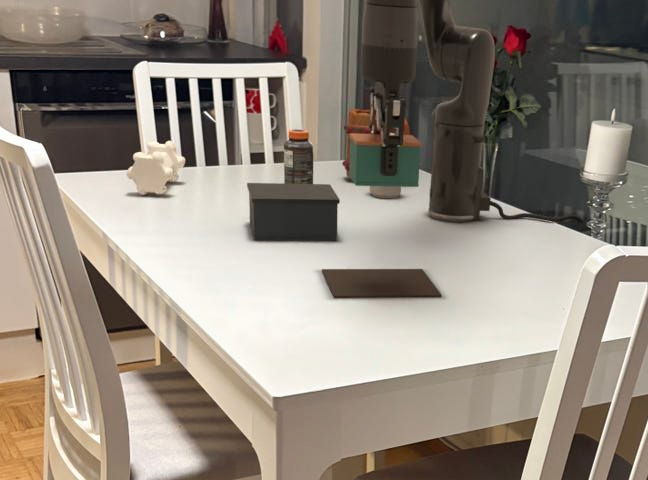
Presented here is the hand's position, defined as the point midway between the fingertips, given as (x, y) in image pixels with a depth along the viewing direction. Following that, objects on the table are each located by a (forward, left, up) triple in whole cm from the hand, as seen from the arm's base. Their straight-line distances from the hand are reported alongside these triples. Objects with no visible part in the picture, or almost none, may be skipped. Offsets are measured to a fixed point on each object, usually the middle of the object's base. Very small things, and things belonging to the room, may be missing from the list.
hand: (384, 170), depth 139 cm
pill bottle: (+5, -65, -17) cm, 67 cm away
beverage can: (-12, -59, -17) cm, 62 cm away
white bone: (+33, -62, -17) cm, 72 cm away
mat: (0, 0, -17) cm, 17 cm away
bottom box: (+10, -30, -17) cm, 36 cm away
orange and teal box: (0, 0, -2) cm, 2 cm away
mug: (-12, -72, -17) cm, 75 cm away
